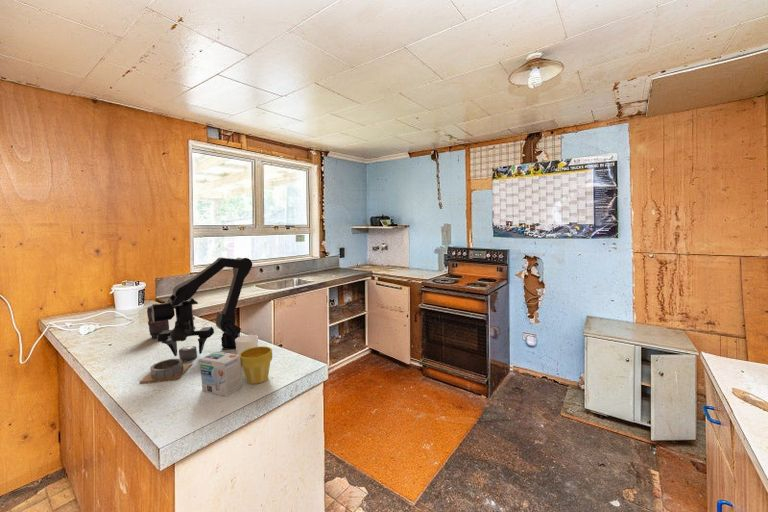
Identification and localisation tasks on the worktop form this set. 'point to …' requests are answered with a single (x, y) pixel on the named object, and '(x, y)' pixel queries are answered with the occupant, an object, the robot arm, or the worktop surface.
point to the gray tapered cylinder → (188, 353)
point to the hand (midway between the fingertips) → (188, 354)
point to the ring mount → (166, 371)
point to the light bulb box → (221, 373)
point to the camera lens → (156, 325)
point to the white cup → (246, 342)
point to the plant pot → (256, 363)
